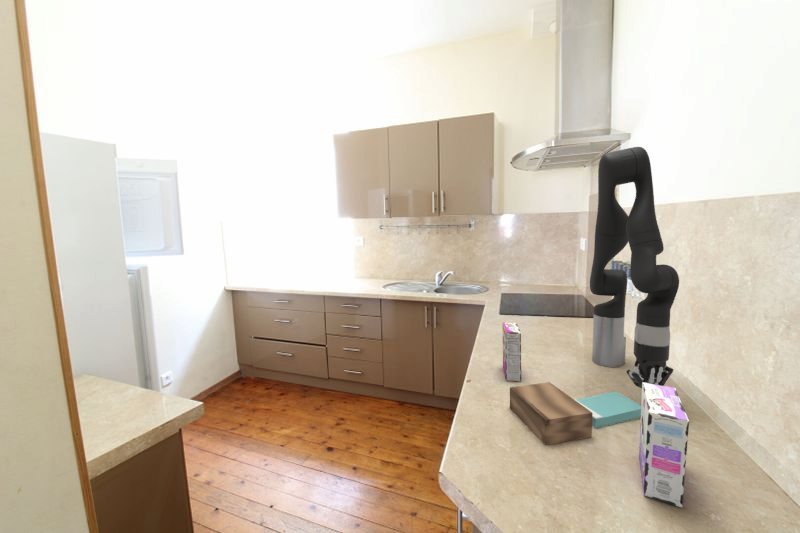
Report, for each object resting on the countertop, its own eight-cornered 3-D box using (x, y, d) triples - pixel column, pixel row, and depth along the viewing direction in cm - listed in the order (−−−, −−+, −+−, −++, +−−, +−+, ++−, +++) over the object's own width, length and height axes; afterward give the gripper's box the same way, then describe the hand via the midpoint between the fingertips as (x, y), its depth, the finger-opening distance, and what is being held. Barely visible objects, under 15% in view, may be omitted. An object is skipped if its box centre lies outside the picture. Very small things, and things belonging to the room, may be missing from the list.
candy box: (684, 509, 58) (690, 421, 56) (642, 496, 62) (647, 411, 60) (672, 461, 70) (677, 386, 68) (637, 452, 73) (641, 380, 71)
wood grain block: (549, 402, 95) (549, 382, 94) (591, 436, 79) (592, 412, 78) (509, 408, 92) (509, 387, 92) (545, 444, 77) (545, 420, 76)
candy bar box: (501, 367, 119) (501, 321, 117) (516, 367, 118) (517, 322, 116) (505, 381, 108) (505, 331, 106) (521, 382, 107) (522, 332, 105)
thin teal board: (614, 400, 95) (615, 390, 95) (645, 417, 86) (646, 406, 86) (567, 411, 91) (568, 400, 90) (595, 430, 82) (595, 418, 82)
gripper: (659, 333, 94) (655, 392, 96) (618, 338, 91) (615, 398, 93) (686, 342, 87) (682, 406, 89) (643, 347, 84) (639, 413, 86)
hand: (648, 402), depth 91 cm, fingers closed
